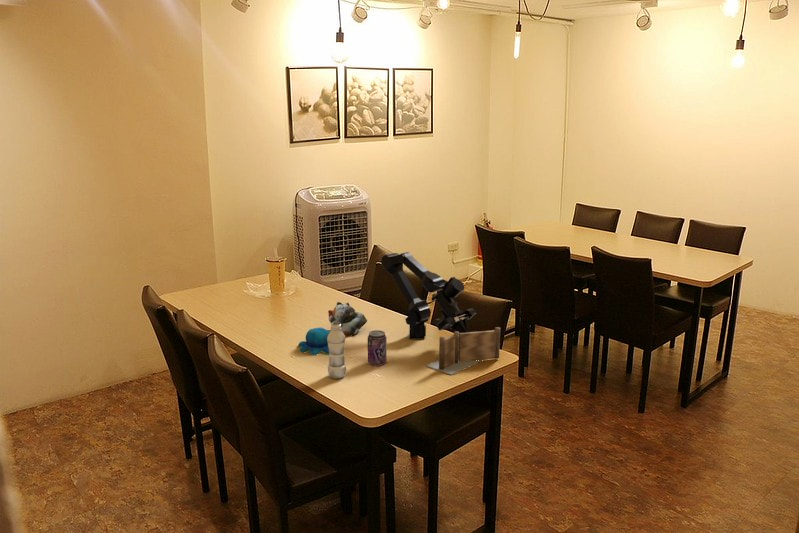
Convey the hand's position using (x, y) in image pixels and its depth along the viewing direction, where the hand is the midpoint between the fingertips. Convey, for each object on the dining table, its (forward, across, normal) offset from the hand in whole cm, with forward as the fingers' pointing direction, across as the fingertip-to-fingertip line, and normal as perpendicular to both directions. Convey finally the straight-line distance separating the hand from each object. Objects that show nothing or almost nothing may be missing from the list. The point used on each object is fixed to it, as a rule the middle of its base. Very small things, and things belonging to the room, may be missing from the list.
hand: (468, 337), depth 247 cm
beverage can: (-8, +32, -18) cm, 37 cm away
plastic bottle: (-8, +51, -18) cm, 55 cm away
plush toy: (-27, +36, -38) cm, 60 cm away
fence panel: (+10, +4, +2) cm, 11 cm away
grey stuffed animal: (-32, +16, -43) cm, 56 cm away
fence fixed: (+7, +16, -2) cm, 17 cm away
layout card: (+7, +9, -2) cm, 12 cm away
